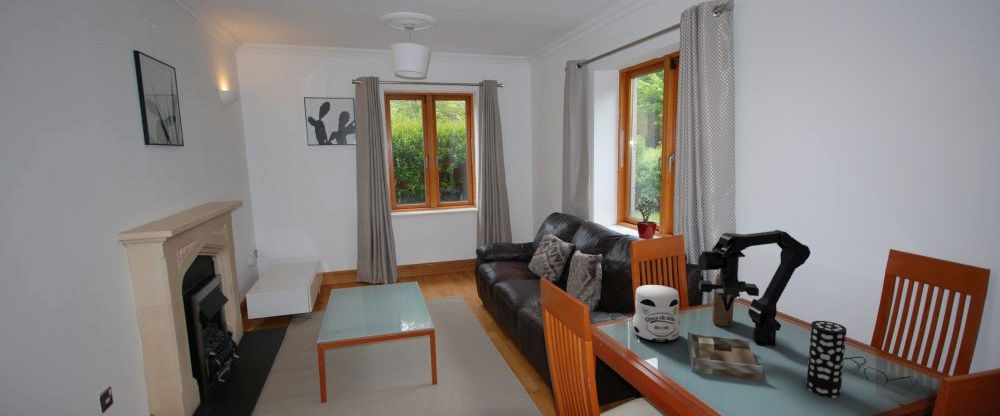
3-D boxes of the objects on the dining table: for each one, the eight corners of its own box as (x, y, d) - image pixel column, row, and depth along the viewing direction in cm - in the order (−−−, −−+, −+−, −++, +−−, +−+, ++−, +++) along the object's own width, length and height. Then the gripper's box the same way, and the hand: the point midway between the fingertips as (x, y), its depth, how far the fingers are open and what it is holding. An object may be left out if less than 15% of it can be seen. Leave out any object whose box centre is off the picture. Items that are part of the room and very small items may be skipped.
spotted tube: (799, 383, 139) (804, 321, 136) (825, 381, 139) (830, 320, 136) (820, 398, 130) (826, 333, 128) (847, 396, 131) (854, 331, 128)
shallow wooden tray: (748, 351, 160) (749, 338, 159) (761, 380, 141) (762, 365, 140) (687, 345, 166) (688, 332, 165) (692, 371, 147) (692, 357, 146)
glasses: (835, 368, 148) (838, 354, 147) (864, 364, 153) (866, 350, 153) (886, 390, 135) (888, 374, 134) (915, 385, 140) (918, 370, 140)
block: (732, 328, 179) (735, 280, 176) (711, 325, 183) (713, 277, 180) (732, 319, 189) (735, 272, 186) (712, 316, 192) (715, 270, 189)
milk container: (658, 350, 162) (659, 302, 160) (622, 333, 177) (623, 289, 174) (689, 338, 171) (691, 293, 168) (653, 323, 186) (654, 281, 183)
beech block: (712, 351, 157) (712, 338, 156) (713, 357, 152) (714, 344, 152) (697, 349, 158) (698, 337, 157) (698, 355, 154) (699, 342, 153)
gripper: (702, 273, 157) (700, 316, 159) (764, 277, 151) (760, 322, 153) (699, 264, 167) (697, 305, 170) (756, 268, 161) (754, 310, 164)
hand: (726, 310), depth 164 cm, fingers closed
